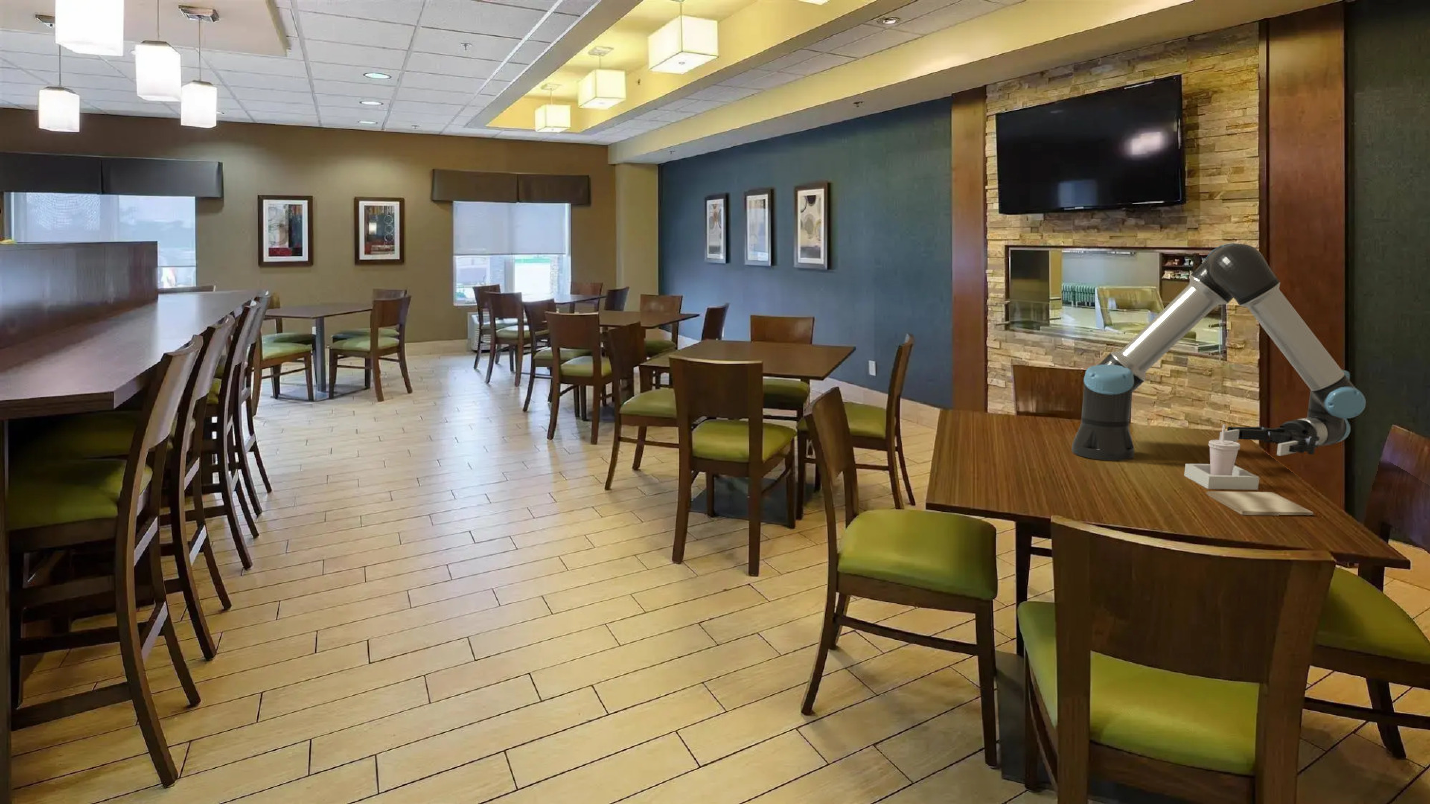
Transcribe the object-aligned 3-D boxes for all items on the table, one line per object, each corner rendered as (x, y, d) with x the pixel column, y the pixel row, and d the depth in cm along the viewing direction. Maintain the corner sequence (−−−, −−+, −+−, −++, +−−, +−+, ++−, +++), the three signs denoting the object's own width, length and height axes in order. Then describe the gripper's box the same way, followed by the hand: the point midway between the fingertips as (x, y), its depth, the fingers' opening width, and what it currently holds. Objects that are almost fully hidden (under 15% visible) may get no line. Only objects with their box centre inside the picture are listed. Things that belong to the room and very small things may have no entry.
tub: (1207, 488, 187) (1209, 476, 186) (1184, 475, 197) (1185, 463, 197) (1257, 489, 186) (1259, 477, 185) (1231, 476, 197) (1232, 464, 196)
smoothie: (1198, 479, 194) (1204, 422, 192) (1223, 478, 195) (1229, 421, 192) (1216, 486, 188) (1223, 428, 186) (1242, 486, 189) (1249, 427, 186)
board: (1242, 514, 169) (1242, 511, 168) (1206, 494, 182) (1207, 491, 182) (1312, 516, 168) (1313, 512, 167) (1271, 495, 181) (1272, 492, 181)
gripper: (1355, 460, 193) (1303, 471, 184) (1248, 438, 215) (1197, 447, 206) (1360, 429, 191) (1307, 439, 182) (1252, 410, 213) (1200, 418, 204)
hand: (1249, 443), depth 194 cm, fingers open, 13 cm apart
